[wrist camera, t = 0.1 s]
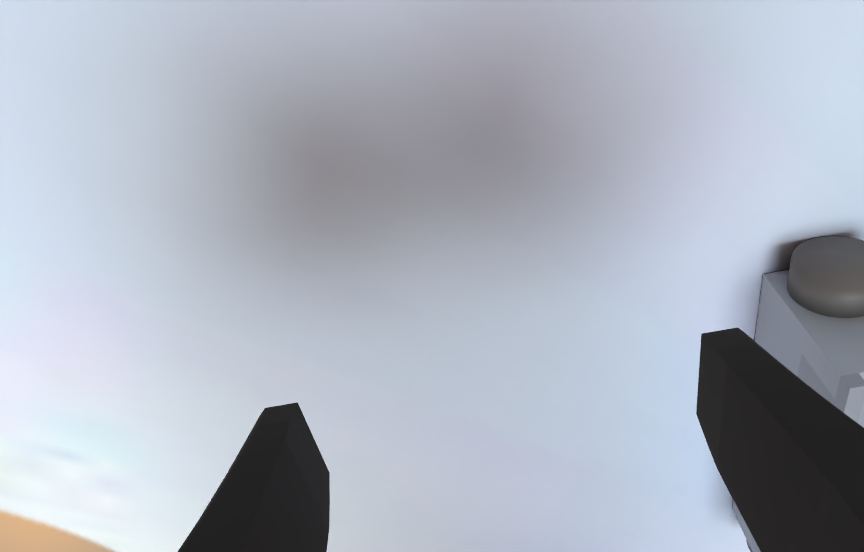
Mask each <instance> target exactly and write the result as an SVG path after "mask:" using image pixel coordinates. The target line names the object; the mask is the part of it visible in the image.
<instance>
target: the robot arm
mask: <svg viewBox="0 0 864 552" xmlns="http://www.w3.org/2000/svg"><path fill="white" fill-rule="evenodd" d="M696 414H697V417H698V419H699V422H700V425H701V428H702V430H703V433H704V436H705V438H706V441H707V444H708V446H709V449H710V451H711V454H712V457H713V459H714V462H715V464H716V467H717V469H718V471H719V473H720V475H721V477H722V479H723V481H724V483H725V484H726V486H727V488H728V490H729V492H730V494H731V496H732V498H733V500H734V502H735V504H736V506H737V508H738V510H739V511H740V513H741V515H742V517H743V519H744V521H745V523H746V525H747V527H748V528H749V530H750V532H751V534H752V536H753V538H754V540H755V542H756V544H757V546H758V547H759V549H760V551H761V552H864V427H862V426H861V425H860V424H858V423H857V422H855V421H854V420H853V419H851V418H850V417H849V416H847V415H846V414H845V413H844V412H842V411H841V410H840V409H838V408H837V407H836V406H834V405H833V404H832V403H830V402H829V401H828V400H826V399H825V398H824V397H823V396H821V395H820V394H819V393H817V392H816V391H815V390H814V389H812V388H811V387H810V386H809V385H807V384H806V383H805V382H804V381H802V380H801V379H800V378H799V377H797V376H796V375H795V374H794V373H792V372H791V371H790V370H789V369H788V368H786V367H785V366H784V365H783V364H781V363H780V362H779V361H778V360H777V359H775V358H774V357H773V356H772V355H771V354H769V353H768V352H767V351H766V350H765V349H763V348H762V347H761V346H760V345H759V344H758V343H756V342H755V341H754V340H753V339H752V338H750V337H749V336H748V335H747V334H746V333H744V332H743V331H742V330H740V329H739V328H733V329H727V330H721V331H715V332H709V333H703V334H702V335H701V351H700V366H699V382H698V397H697V413H696ZM329 506H330V494H329V471H328V469H327V467H326V464H325V462H324V460H323V458H322V456H321V453H320V451H319V449H318V447H317V445H316V442H315V440H314V438H313V436H312V433H311V431H310V429H309V427H308V425H307V422H306V420H305V418H304V416H303V414H302V411H301V409H300V407H299V405H298V403H292V404H286V405H281V406H275V407H269V408H265V409H264V410H263V412H262V413H261V415H260V417H259V418H258V420H257V422H256V424H255V425H254V427H253V429H252V431H251V432H250V434H249V436H248V438H247V440H246V441H245V443H244V445H243V447H242V448H241V450H240V452H239V454H238V455H237V457H236V459H235V461H234V462H233V464H232V466H231V468H230V469H229V471H228V473H227V475H226V476H225V478H224V480H223V481H222V483H221V485H220V486H219V488H218V489H217V491H216V493H215V494H214V496H213V498H212V499H211V501H210V503H209V504H208V506H207V508H206V509H205V511H204V512H203V514H202V516H201V517H200V519H199V520H198V522H197V524H196V525H195V527H194V528H193V530H192V531H191V533H190V534H189V536H188V537H187V539H186V540H185V542H184V543H183V545H182V546H181V548H180V549H179V551H178V552H326V550H327V542H328V533H329Z"/></svg>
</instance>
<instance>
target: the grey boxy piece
mask: <svg viewBox="0 0 864 552" xmlns="http://www.w3.org/2000/svg"><path fill="white" fill-rule="evenodd" d="M754 341H755V342H756V343H758V344H759V345H760V346H761V347H762V348H763V349H765V350H766V351H767V352H768V353H769V354H771V355H772V356H773V357H774V358H775V359H777V360H778V361H779V362H780V363H781V364H783V365H784V366H785V367H786V368H788V369H789V370H790V371H791V372H792V373H794V374H795V375H796V376H797V377H799V378H800V379H801V380H802V381H804V382H805V383H806V384H807V385H809V386H810V387H811V388H812V389H814V390H815V391H816V392H817V393H819V394H820V395H821V396H823V397H824V398H825V399H826V400H828V401H829V402H830V403H832V404H833V405H834V406H836V407H837V408H838V409H840V410H841V411H842V412H844V413H845V414H846V415H847V416H849V417H850V418H851V419H853V420H854V421H855V422H857V423H858V424H860V425H861V426H862V427H864V241H862V240H859V239H855V238H850V237H842V236H824V237H817V238H813V239H810V240H807V241H805V242H803V243H801V244H799V245H798V246H797V247H796V248H795V249H794V251H793V252H792V256H791V262H790V269H789V270H785V271H780V272H774V273H768V274H763V280H762V288H761V295H760V303H759V310H758V318H757V325H756V333H755V340H754ZM732 509H733V511H734V513H735V515H736V518H737V520H738V522H739V524H740V526H741V528H742V530H743V532H744V535H745V537H746V539H747V545H748V547H749V549H750V551H751V552H761V551H760V549H759V547H758V546H757V544H756V542H755V540H754V538H753V536H752V534H751V532H750V530H749V528H748V527H747V525H746V523H745V521H744V519H743V517H742V515H741V513H740V511H739V510H738V508H737V506H736V504H735V502H734V500H733V506H732Z"/></svg>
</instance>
